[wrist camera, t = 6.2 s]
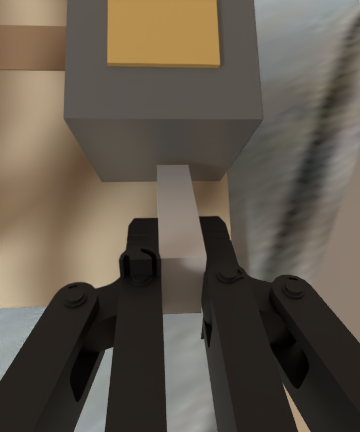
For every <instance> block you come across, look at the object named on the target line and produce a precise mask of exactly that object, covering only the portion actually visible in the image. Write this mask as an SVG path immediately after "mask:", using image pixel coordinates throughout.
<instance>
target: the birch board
mask: <svg viewBox="0 0 360 432" xmlns="http://www.w3.org/2000/svg"><path fill="white" fill-rule="evenodd" d="M66 22H67V0H0V308H15V307H39V306H48V305H49V303H50V301H51V300H52V298H53V297H54V295H55V294H56V293H57V292H58V291H59V289H60V288H62V287H64V286H66V285H67V284H71V283H74V282H85V283H88V284H91V285H92V286H93V287H94V288H95V289H96V288H99V287H103V286H106V285H108V284H111V283H113V282H114V281H116V280H117V279H118V278H119V277H120V269H119V258H120V255H121V254H122V253H123V252H124V251H125V250H126V244H127V236H128V225H129V224H130V223H131V222H132V220H133V219H134V218H158V211H157V182H101V180H100V178H99V177H98V175H97V173H96V172H95V170H94V168H93V167H92V165H91V163H90V162H89V160H88V158H87V157H86V155H85V153H84V152H83V150H82V148H81V147H80V145H79V143H78V142H77V140H76V139H75V137H74V135H73V134H72V132H71V130H70V129H69V127H68V125H67V124H66V122H65V120H64V119H63V114H64V83H65V52H66ZM192 186H193V191H194V196H195V201H196V206H197V211H198V216H219V217H220V218H221V219H222V220H223V221H224V222H225V223H226V226H227V229H228V233H229V236H230V240H231V225H230V209H229V192H228V176H227V172H226V173H225V175H224V176H223V178H222V179H221V181H192Z"/></svg>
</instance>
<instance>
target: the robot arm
mask: <svg viewBox="0 0 360 432" xmlns="http://www.w3.org/2000/svg"><path fill="white" fill-rule="evenodd" d="M157 211H158V218H134V219H133V220H132V222H131V223H130V224H129V225H128V236H127V244H126V250H125V251H124V252H123V253H122V254H121V255H120V258H119V269H120V277H119V278H118V279H117V280H116V281H114V282H113V283H111V284H108V285H106V286H103V287H99V288H96V289H95V288H94V287H93V286H92V285H91V284H88V283H85V282H74V283H71V284H67V285H66V286H64V287H62V288H60V289H59V291H58V292H57V293H56V294H55V295H54V297H53V298H52V300H51V301H50V303H49V305H48V306H47V308H46V309H45V311H44V313H43V314H42V316H41V317H40V319H39V320H38V322H37V324H36V325H35V327H34V328H33V330H32V332H31V333H30V335H29V336H28V338H27V340H26V341H25V343H24V344H23V346H22V347H21V349H20V351H19V352H18V354H17V355H16V357H15V359H14V360H13V362H12V363H11V365H10V367H9V368H8V370H7V371H6V373H5V374H4V376H3V378H2V379H1V381H0V432H74V429H75V427H76V424H77V422H78V419H79V417H80V414H81V412H82V409H83V406H84V404H85V401H86V399H87V396H88V394H89V391H90V389H91V386H92V383H93V381H94V378H95V376H96V373H97V371H98V368H99V366H100V363H101V361H102V358H103V355H104V353H105V350H106V349H109V348H111V347H114V348H113V357H112V367H111V377H110V386H109V396H108V406H107V415H106V425H105V432H167V421H166V393H165V365H164V337H163V314H179V313H201V308H202V309H203V324H202V333H201V339H204V340H205V347H206V354H207V361H208V368H209V375H210V381H211V388H212V395H213V402H214V409H215V416H216V423H217V430H218V432H298V430H297V427H296V424H295V420H294V417H293V414H292V411H291V408H290V405H289V402H288V399H287V396H286V393H285V390H284V387H283V384H284V386H285V388H286V390H287V391H288V393H289V395H290V396H291V398H292V400H293V402H294V403H295V405H296V407H297V409H298V410H299V412H300V414H301V416H302V417H303V419H304V421H305V423H306V424H307V426H308V428H309V430H310V431H311V432H360V343H359V342H358V341H357V339H356V338H355V337H354V336H353V335H352V334H351V332H350V331H349V330H348V329H347V328H346V326H345V325H344V324H343V323H342V322H341V321H340V319H339V318H338V317H337V316H336V315H335V313H334V312H333V311H332V310H331V309H330V308H329V306H327V304H326V303H325V302H324V301H323V299H322V298H321V297H320V296H319V295H318V294H317V292H316V291H315V290H314V289H313V288H312V286H311V285H310V284H308V283H307V282H306V281H305V280H303V279H301V278H299V277H297V276H293V275H281V276H279V277H277V278H275V280H274V281H273V282H272V283H270V282H266V281H261V280H258V279H254V278H252V277H250V276H248V275H247V274H246V272H245V270H244V269H243V268H241V267H240V266H239V265H238V262H237V259H236V255H235V252H234V249H233V246H232V242H231V240H230V236H229V233H228V229H227V226H226V223H225V222H224V221H223V220H222V219H221V218H220V217H219V216H198V211H197V206H196V201H195V196H194V191H193V186H192V181H191V176H190V171H189V166H188V165H157Z"/></svg>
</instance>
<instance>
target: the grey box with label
mask: <svg viewBox="0 0 360 432" xmlns="http://www.w3.org/2000/svg"><path fill="white" fill-rule="evenodd" d="M63 119H64V120H65V122H66V124H67V125H68V127H69V129H70V130H71V132H72V134H73V135H74V137H75V139H76V140H77V142H78V143H79V145H80V147H81V148H82V150H83V152H84V153H85V155H86V157H87V158H88V160H89V162H90V163H91V165H92V167H93V168H94V170H95V172H96V173H97V175H98V177H99V178H100V180H101V182H157V165H188V166H189V171H190V176H191V181H221V179H222V178H223V176H224V175H225V173H226V172H227V171H228V169H229V168H230V166H231V165H232V163H233V162H234V161H235V159H236V158H237V156H238V155H239V153H240V152H241V150H242V149H243V148H244V146H245V145H246V143H247V142H248V140H249V139H250V138H251V136H252V135H253V133H254V132H255V130H256V129H257V127H258V126H259V125H260V123H261V122H262V120H263V111H262V98H261V85H260V73H259V60H258V47H257V34H256V21H255V9H254V0H67V22H66V52H65V83H64V114H63Z"/></svg>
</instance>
